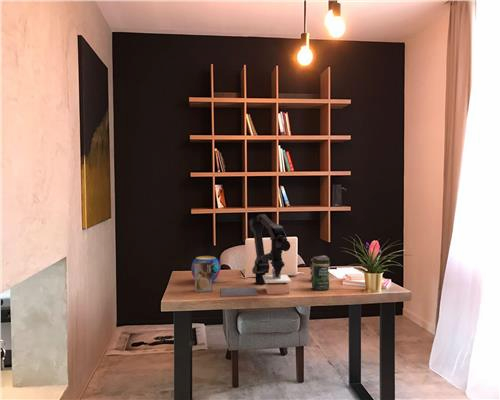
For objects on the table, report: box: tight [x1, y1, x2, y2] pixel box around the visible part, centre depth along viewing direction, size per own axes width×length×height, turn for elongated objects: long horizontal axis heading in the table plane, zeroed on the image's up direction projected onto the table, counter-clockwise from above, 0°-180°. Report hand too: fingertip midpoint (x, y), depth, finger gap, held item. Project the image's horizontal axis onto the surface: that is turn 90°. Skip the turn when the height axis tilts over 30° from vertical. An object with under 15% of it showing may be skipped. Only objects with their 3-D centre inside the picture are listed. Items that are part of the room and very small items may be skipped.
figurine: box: [309, 255, 330, 280], centre depth 259 cm, size 9×12×15 cm
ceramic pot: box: [191, 255, 221, 282], centre depth 257 cm, size 18×18×15 cm
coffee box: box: [194, 261, 213, 293], centre depth 237 cm, size 9×6×16 cm
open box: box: [264, 282, 290, 295], centre depth 235 cm, size 12×12×5 cm
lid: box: [263, 268, 292, 283], centre depth 234 cm, size 14×14×6 cm
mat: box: [220, 286, 259, 297], centre depth 233 cm, size 17×20×1 cm
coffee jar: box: [311, 255, 331, 291], centre depth 239 cm, size 10×8×19 cm
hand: (276, 276), depth 234 cm, fingers closed on lid, 4 cm apart
